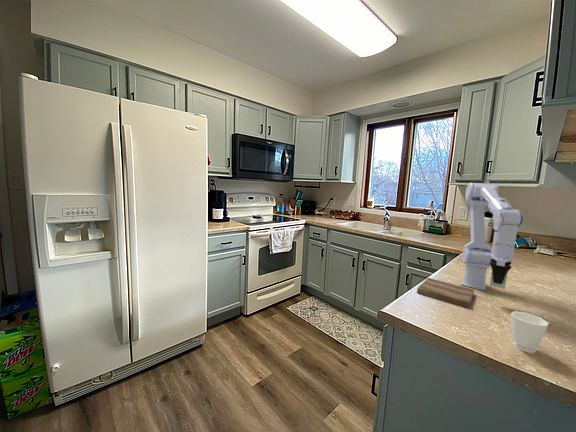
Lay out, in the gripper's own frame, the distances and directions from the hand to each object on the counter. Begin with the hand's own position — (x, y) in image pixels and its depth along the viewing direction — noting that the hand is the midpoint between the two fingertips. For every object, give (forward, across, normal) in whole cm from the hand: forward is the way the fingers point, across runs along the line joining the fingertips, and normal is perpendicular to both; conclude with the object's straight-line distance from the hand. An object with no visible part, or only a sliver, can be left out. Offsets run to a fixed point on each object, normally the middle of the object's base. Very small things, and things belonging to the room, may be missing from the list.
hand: (497, 281), depth 86 cm
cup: (+9, +26, +6) cm, 28 cm away
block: (+2, 0, 0) cm, 2 cm away
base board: (+8, +4, -14) cm, 17 cm away
